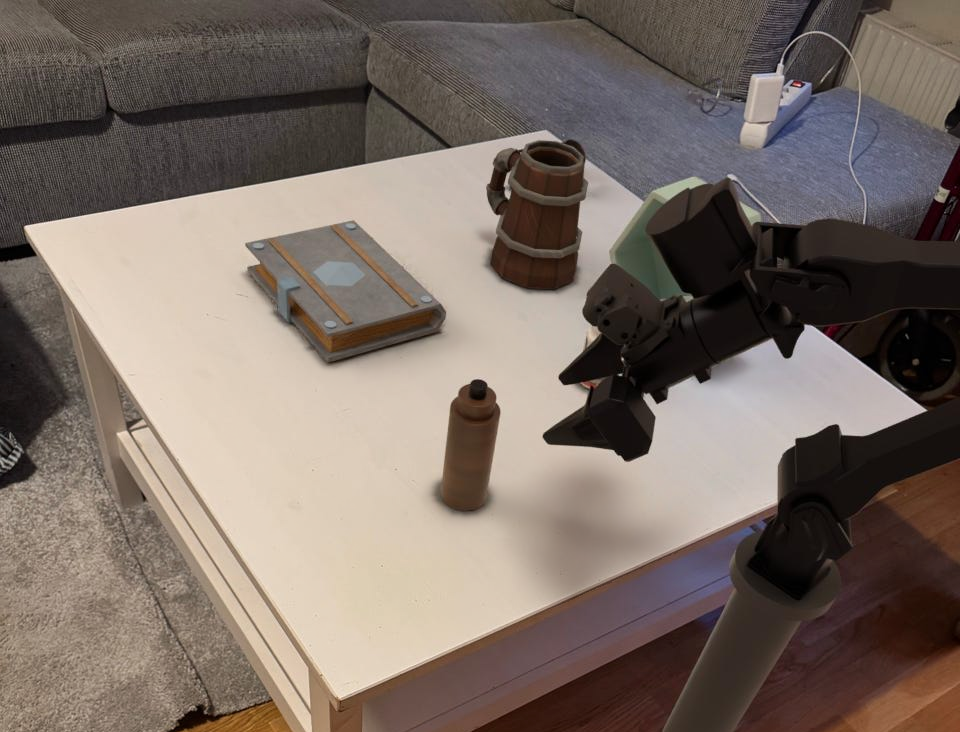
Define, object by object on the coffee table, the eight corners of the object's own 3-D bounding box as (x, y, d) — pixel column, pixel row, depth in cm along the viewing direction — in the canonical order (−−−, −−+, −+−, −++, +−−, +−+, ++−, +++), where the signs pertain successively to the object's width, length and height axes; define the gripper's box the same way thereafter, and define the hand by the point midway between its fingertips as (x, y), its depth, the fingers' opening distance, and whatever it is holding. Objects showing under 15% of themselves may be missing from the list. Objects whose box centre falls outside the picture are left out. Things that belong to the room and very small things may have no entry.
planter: (632, 371, 120) (598, 204, 111) (670, 352, 124) (640, 189, 115) (739, 366, 107) (711, 176, 98) (778, 345, 111) (754, 160, 102)
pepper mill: (495, 497, 95) (515, 387, 85) (463, 517, 93) (479, 407, 82) (463, 473, 97) (478, 362, 86) (431, 492, 95) (442, 380, 84)
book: (444, 332, 113) (447, 295, 109) (325, 366, 106) (324, 328, 102) (359, 249, 122) (359, 212, 118) (244, 275, 115) (241, 237, 111)
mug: (592, 273, 126) (618, 161, 114) (533, 300, 120) (553, 185, 108) (512, 223, 132) (528, 112, 120) (451, 246, 126) (462, 132, 114)
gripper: (668, 197, 77) (521, 287, 86) (647, 313, 65) (479, 404, 74) (728, 302, 83) (584, 376, 92) (719, 426, 71) (555, 497, 80)
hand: (553, 409), depth 85 cm, fingers open, 9 cm apart
